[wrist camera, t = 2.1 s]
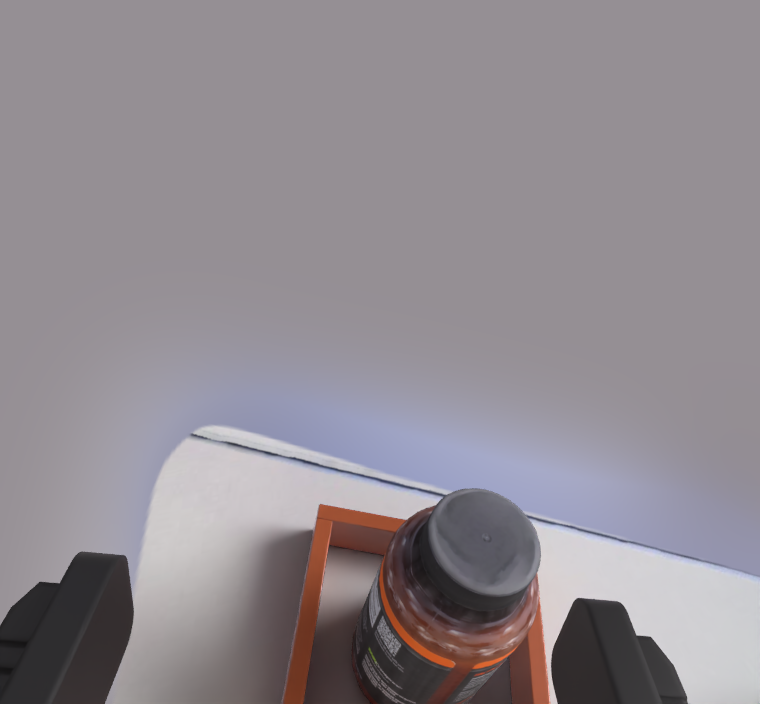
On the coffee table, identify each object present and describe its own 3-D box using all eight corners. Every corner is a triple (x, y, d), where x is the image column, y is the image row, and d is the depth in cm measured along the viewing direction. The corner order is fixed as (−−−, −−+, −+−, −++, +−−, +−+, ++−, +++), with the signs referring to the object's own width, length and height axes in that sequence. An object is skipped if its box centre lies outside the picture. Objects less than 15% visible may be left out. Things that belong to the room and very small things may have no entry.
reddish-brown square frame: (266, 782, 24) (270, 767, 22) (313, 528, 32) (319, 503, 30) (537, 823, 25) (562, 812, 23) (517, 566, 33) (534, 543, 31)
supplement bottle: (489, 633, 30) (589, 513, 22) (447, 759, 26) (551, 667, 18) (381, 572, 31) (440, 438, 23) (323, 683, 27) (371, 566, 19)
